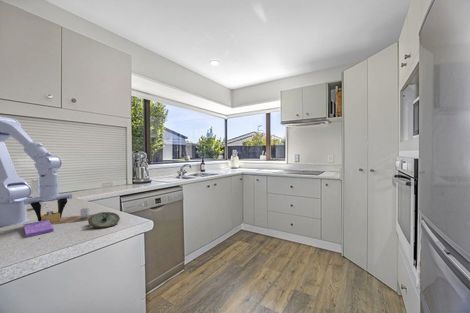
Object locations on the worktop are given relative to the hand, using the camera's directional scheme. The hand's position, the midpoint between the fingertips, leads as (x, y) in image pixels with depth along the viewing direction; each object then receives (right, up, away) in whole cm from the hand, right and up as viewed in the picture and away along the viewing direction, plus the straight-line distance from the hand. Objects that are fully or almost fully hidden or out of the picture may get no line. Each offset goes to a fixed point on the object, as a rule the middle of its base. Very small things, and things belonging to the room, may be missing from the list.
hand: (49, 219), depth 85 cm
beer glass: (-29, -2, +27) cm, 39 cm away
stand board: (+6, -2, +2) cm, 6 cm away
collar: (0, -1, 0) cm, 1 cm away
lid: (+24, -2, -3) cm, 25 cm away
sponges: (+5, -2, -10) cm, 11 cm away
